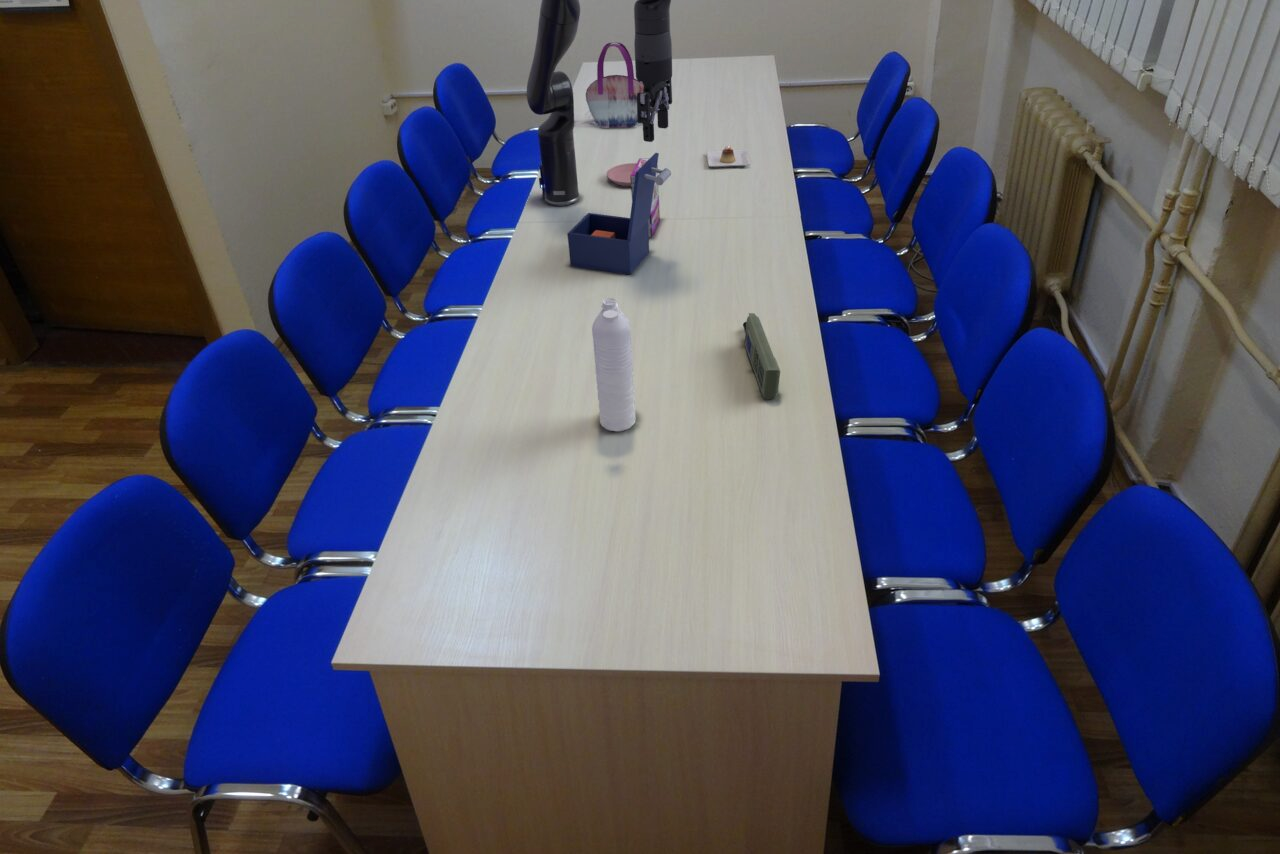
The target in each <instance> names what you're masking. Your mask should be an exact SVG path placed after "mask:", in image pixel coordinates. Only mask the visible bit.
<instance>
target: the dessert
mask: <svg viewBox="0 0 1280 854" xmlns="http://www.w3.org/2000/svg"><path fill="white" fill-rule="evenodd" d="M706 157H707V158H706V159H707V164H708V165H707V166H708V167H711V168H735V167H737V168H738V167H739V168H740V167H747V166H749V165H751V163H750V159H749V158H750V157H749V154H748V151H747V149H732V148H731V147H730V146H729V145H728V144H727V145H725V147H724V149H722V150H706Z"/></svg>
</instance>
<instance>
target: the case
mask: <svg viewBox="0 0 1280 854" xmlns="http://www.w3.org/2000/svg"><path fill="white" fill-rule="evenodd" d="M629 223H630V217H625V216H624V217H623V216H617V215H616V216H615V215H609V214H602V213H593V212H588V213H587V214H585V215H584V216H583V218H581V220H579V222H577V223H576V224H575V225H574V226H573V227H572V228H571V229H570V230H569V231H568V232H567V233H566V234H567V243H568V254H569V263H570V267H578V268H584V269H585V268H586V269H591V270H597V271H604V272H612V273H618V274H625V275H632V273H634V271H635V270H636V269H637V268H638V266H639V265H640V264H641V263H642V262H643V261H644V259H645V258H646V256H648V254H649V253H650V238H649V234H648V221H647V222H646V223H645V225H644V226H643V227H642V228H641V229H640V230H639V231H638V233H637V234H636V235H635V236H634V237H633V238H632V239H631V240H628V231H629ZM595 230H599V231H607V232H614V233H615V239H614V238H607V237H600V236H593V235H591V234H592V233H593V232H594V231H595Z"/></svg>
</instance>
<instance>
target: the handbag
mask: <svg viewBox="0 0 1280 854" xmlns="http://www.w3.org/2000/svg"><path fill="white" fill-rule="evenodd" d="M610 47H615V48H617V49H618V50H619V52H620V54H621V55H622V58H623V59H624V63H625V65H626V74H627V75H623V74H612V75H606V76H605V75H604V66H605V65H604V64H605V63H604V62H605V58H606V54H607V52H608V49H610ZM630 54H631V53H630V51H629V50H628V48H627V47H626V45H625V44H623V43H622V42H615V41H614V42H608V43H606V44H605V45H604V46H603V48H602V49H601V51H600V54H599V56H598V60H597V64H596V65H597V68H596V80H594V81H593V82H591V83H590V84H589V85H588V87H587V89H586V90H585V101H586V104H587V107H588V111H587V112H586V113H585V115H587V113H588V112H589V113H590V115H589V117H591V116H592V119H593V120H594V122H595V123H596V125H598V126H599V127H600V128H603V129H615V128H616V129H617V128H618V129H619V128H621V129H626V128H632V127H634V126H636V125H637V124H638V121H637V93H643V88H644V84H643V83H642V82H640V81H638V80H637V79H636V78H635V73H634V71H635V70H634V64H633V63H634V62H633V60H632V57H631V55H630ZM641 113H642V111H641Z"/></svg>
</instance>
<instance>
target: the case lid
mask: <svg viewBox="0 0 1280 854" xmlns="http://www.w3.org/2000/svg"><path fill="white" fill-rule="evenodd" d="M659 154H660V153H659V152H655V153H654V154H653V155H651V156H650V157H649V158H650V159H649V160H648V161H647V162H646V163H645V164H644V165H643V166H642V167H641V168H640V169H639V170H638V171H637V172H636V175H635V183H634V191H633V199H632V198H631V208H630V215H629V216H630V217H629V218H630V223H629V231H628V240H631V239H632V238H633V237H634V236H635V235H636V234H637V233H638V231H639V230H640V229H641V228H642V227H643V226H644V225H645V223H646V222H647V221H648V220H649V219H650V212H651V205H652V198H653V191H654V184H655V183H656V184H657V185H658V186H662V185H663V184H665V183H666V181H667V180H668V179H669V177H671V175H672V171H671V169H670V168H667V167H666V168H664V169H660V168H658V169H657V167H658V163H659ZM656 173H658V176H657V177H656Z"/></svg>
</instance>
